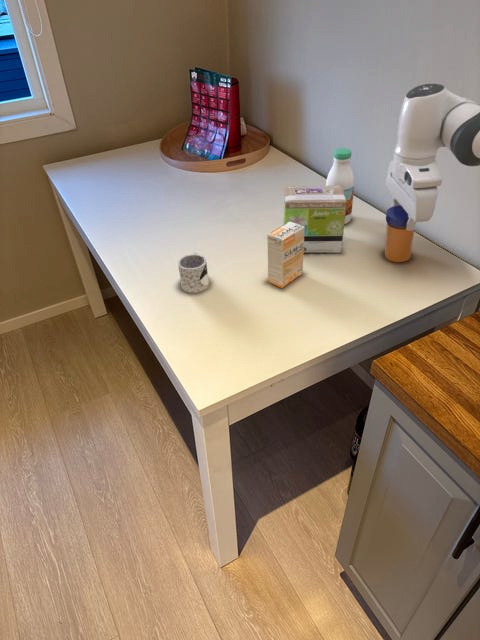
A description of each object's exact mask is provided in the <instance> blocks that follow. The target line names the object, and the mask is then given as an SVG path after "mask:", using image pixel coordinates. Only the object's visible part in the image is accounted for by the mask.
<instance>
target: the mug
mask: <svg viewBox="0 0 480 640" xmlns="http://www.w3.org/2000/svg"><path fill="white" fill-rule="evenodd" d="M177 266H178V267H177V268H178V272H179V277H180V278H179V279H180V285H181V289H182V291H184V292H186V293H189V294H197V293H201V292H204V291H205V290H207V289H208V288H209V285H210V282H209V274H208V265H207V258H206V257H205V256H203V255H201V254H198V252H193V253H192V254H186V255H183V256H181V257H180V258H179V260H178V261H177Z"/></svg>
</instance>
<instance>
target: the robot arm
mask: <svg viewBox="0 0 480 640" xmlns="http://www.w3.org/2000/svg"><path fill="white" fill-rule="evenodd" d="M396 134H397V141H396V145H394V150H393V156H392V160H391V161H390V162H389V164H388V167H387V172H386V177H385V188H386V189H387V191H388V192H389V193H390V194H391V196H392V207H393V206H399V205H401V206H402V207H403V208H404V210H405V211H406V212H407V213H408V217H409V219H408V221H406V223H405V228H406V229H407V230H408V231H411V230H414V231H415V227H416V224H417V223H422V222H428V221H430V220H431V219H432V218H433V216H434V211H435V208H436V204H437V201H438V194H439V193H438V192H439V191H438V187H440V186H441V185H442V182H443V175H442V173H441V172H440V169H439V167H438V162H437V160H436V157H437V153H438V150H439V149H440V148H447V149H448V150H449V151H450V152H451V153H452V155H453V156H454V157H455V159H456V160H457V161H458V162H459V163H460V164H462V165H464V166H467V167H479V166H480V104H479V103H478V102H475V101H474V100H472V99H470V98H467V97H463V96H460V95H457V94H455V93H453V92H451V91H450V90H448V89H447V88H446V87H445V86H444V85H443V84H440V83H424V84H420V85H417V86H414V87H413V88H412V89H409V91H408V92H407V93H406V95H405V96H404V99H403V101H402V104H401V109H400V111H399V116H398V122H397V128H396Z"/></svg>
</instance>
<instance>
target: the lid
mask: <svg viewBox="0 0 480 640" xmlns="http://www.w3.org/2000/svg"><path fill="white" fill-rule="evenodd" d="M408 219H409V217H408V213H407V212H406V211H405V210H404V208H403V207H402V206H401V205H399V206H393V205H392V206H390V207H389V208H388V209H387V210H386V213H385V221H386V224H387V223H388V224H389V225H391V226H394V227H405V223H406V221H408Z"/></svg>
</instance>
